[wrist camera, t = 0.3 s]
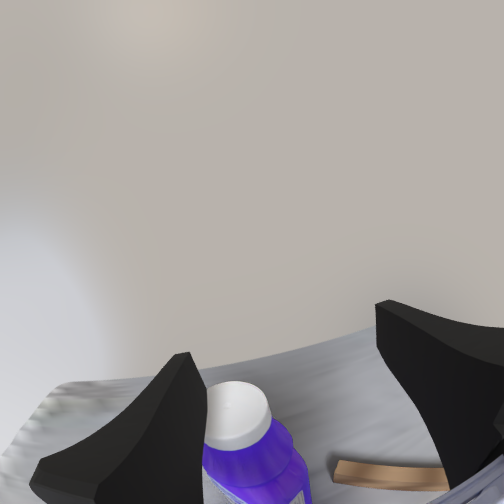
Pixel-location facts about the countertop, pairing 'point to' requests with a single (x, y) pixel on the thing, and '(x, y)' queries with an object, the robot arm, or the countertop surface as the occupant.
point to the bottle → (251, 449)
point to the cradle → (391, 477)
